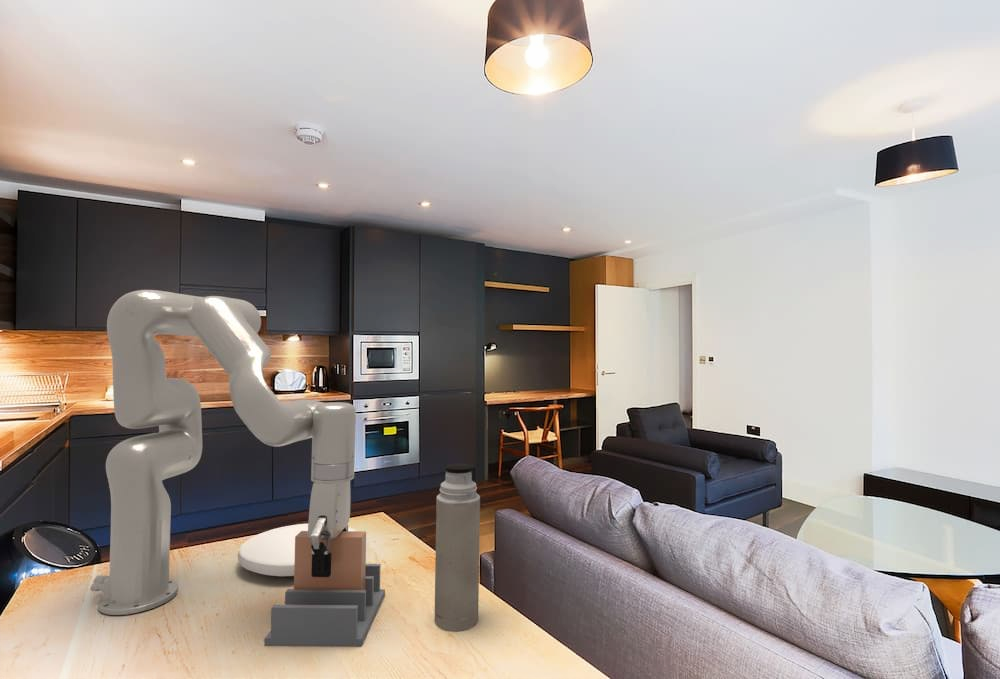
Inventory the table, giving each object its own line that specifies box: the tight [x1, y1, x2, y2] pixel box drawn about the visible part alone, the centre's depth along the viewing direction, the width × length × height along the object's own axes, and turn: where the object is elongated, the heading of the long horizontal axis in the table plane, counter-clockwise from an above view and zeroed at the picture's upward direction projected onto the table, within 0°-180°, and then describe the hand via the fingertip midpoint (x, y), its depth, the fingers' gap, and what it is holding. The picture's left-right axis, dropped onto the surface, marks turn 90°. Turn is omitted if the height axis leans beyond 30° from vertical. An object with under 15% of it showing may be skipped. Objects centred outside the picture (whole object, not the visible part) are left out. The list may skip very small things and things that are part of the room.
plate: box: [237, 523, 357, 577], centre depth 118 cm, size 28×6×27 cm
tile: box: [293, 530, 367, 590], centre depth 92 cm, size 12×3×14 cm, turn 91°
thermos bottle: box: [434, 463, 481, 632], centre depth 93 cm, size 8×8×28 cm
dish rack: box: [263, 563, 386, 647], centre depth 92 cm, size 16×18×6 cm
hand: (330, 564), depth 93 cm, fingers open, 9 cm apart
